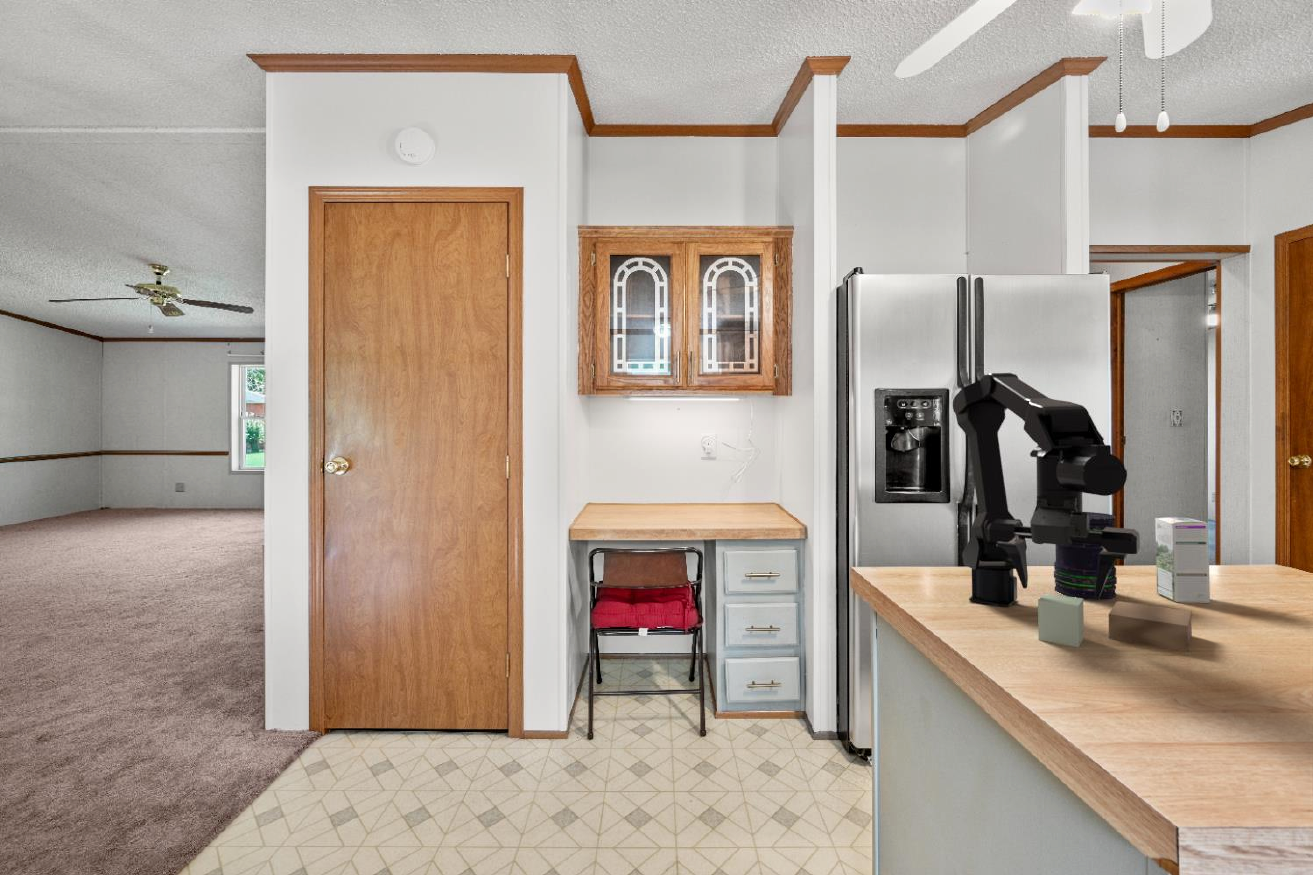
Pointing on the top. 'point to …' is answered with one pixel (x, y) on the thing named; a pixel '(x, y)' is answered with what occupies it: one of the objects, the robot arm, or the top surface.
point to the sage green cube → (1061, 619)
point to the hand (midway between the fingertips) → (1060, 592)
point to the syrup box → (1182, 559)
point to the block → (1151, 625)
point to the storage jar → (1084, 565)
